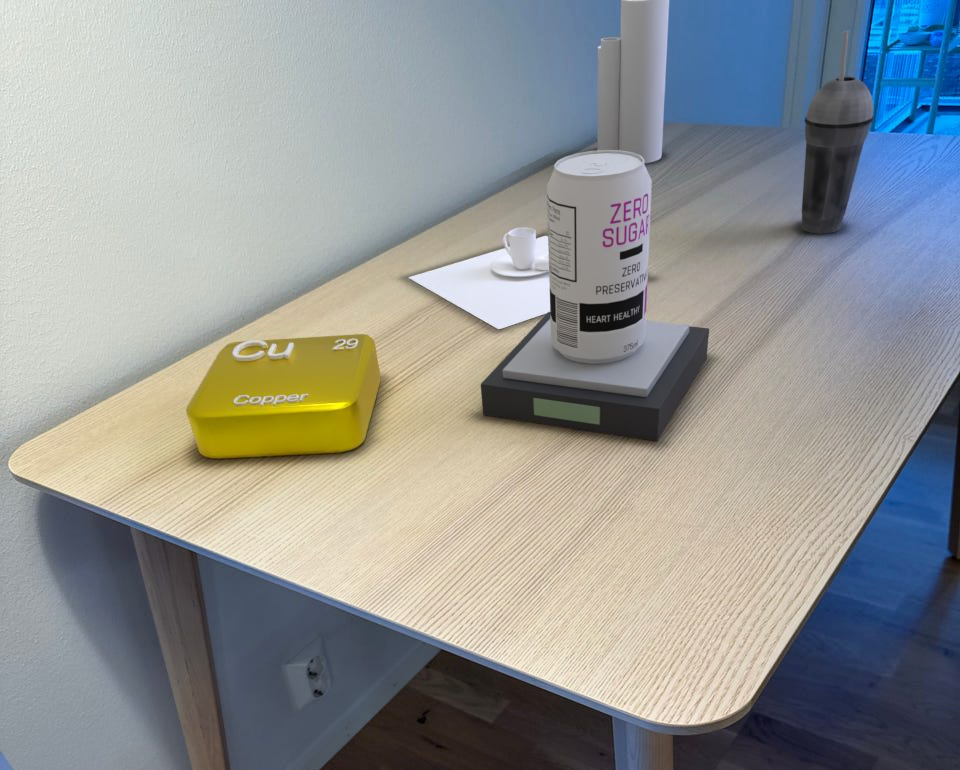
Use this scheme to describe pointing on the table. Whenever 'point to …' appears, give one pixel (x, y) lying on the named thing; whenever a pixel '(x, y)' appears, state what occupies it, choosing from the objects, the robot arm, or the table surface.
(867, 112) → the beverage cup
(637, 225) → the white drink can
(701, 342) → the scale
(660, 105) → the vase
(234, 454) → the element tile
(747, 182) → the table surface
